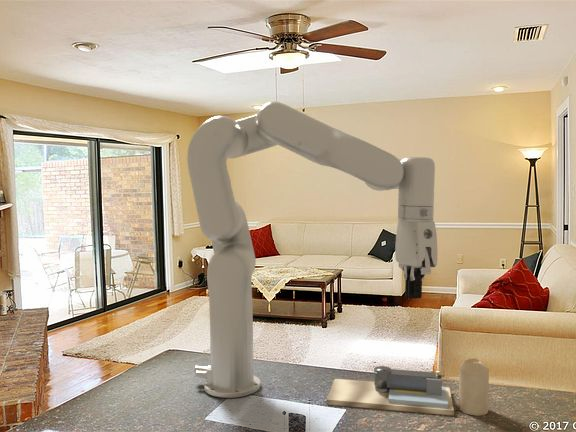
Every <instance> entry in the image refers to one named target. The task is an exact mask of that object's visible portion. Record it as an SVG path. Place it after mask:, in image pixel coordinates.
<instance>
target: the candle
mask: <svg viewBox="0 0 576 432" xmlns="http://www.w3.org/2000/svg"><path fill="white" fill-rule="evenodd" d="M458 367H459V368H458V371H459V373H458V408H459V410H460V412H462V413H464V414H466V415H469V416H478V417H479V416H481V417H482V416H485V415H487V414H488V413H489V405H490V404H489V397H490V396H489V395H490V393H489V391H490V389H489V388H490V386H489V385H490V383H489V381H490V379H489V378H490V377H489V376H490V371H489V370H490V369H489V367H488V366H487V365H485V364H484V363H483V362H482V361H481V360H480V359H477V358H476V357H475V358H467V359H466V360H464V361H463V362H462V363H460V365H459V366H458Z"/></svg>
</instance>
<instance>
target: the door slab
mask: <svg viewBox="0 0 576 432" xmlns="http://www.w3.org/2000/svg"><path fill="white" fill-rule="evenodd" d="M442 382H443V379H442V378H441V379H435V378H426V391H420V390H409V389H397V388H390V390H389V403H396V404H408V405H420V406H431V407H443V408H448V400H447V394H446V388H445V387H446V386H443V383H442Z"/></svg>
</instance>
